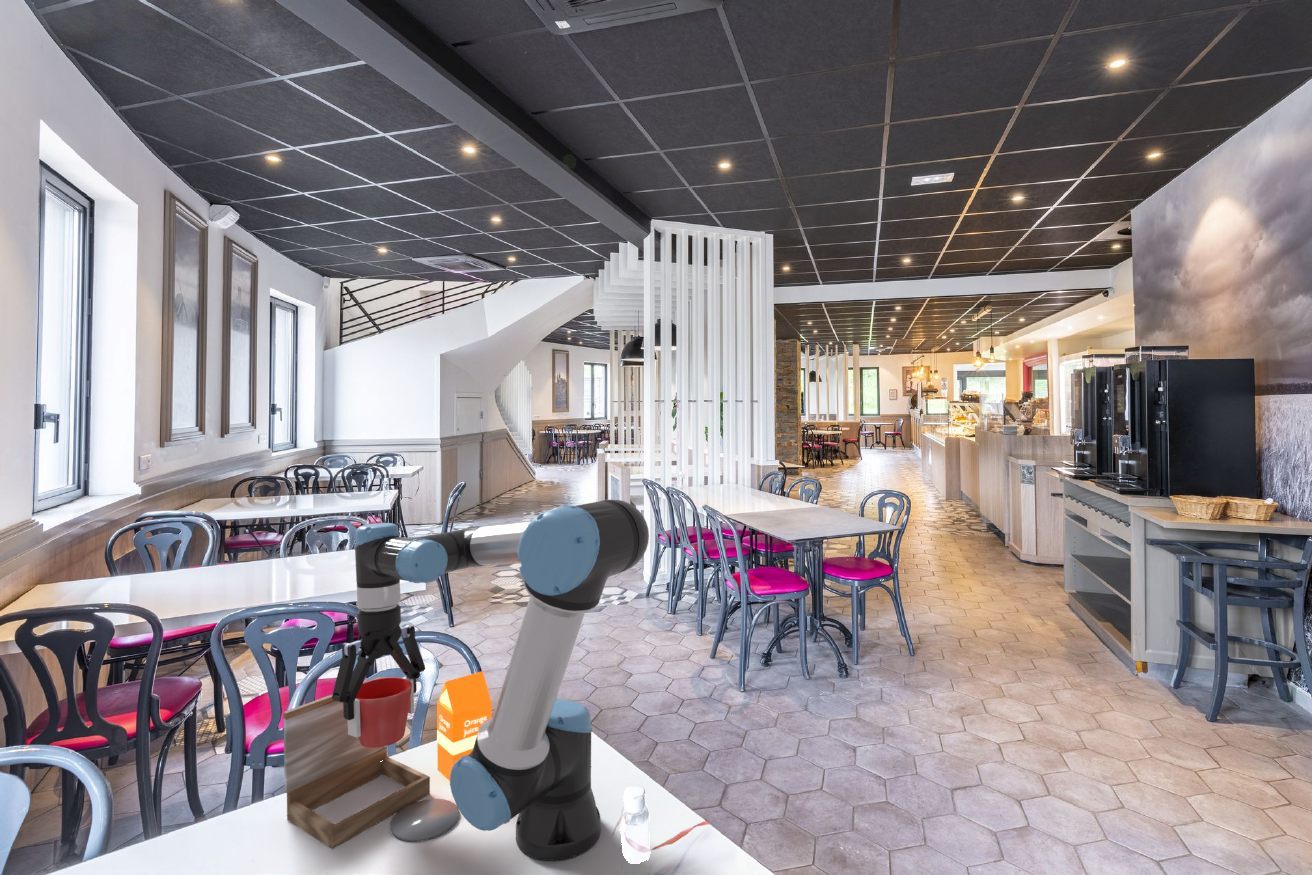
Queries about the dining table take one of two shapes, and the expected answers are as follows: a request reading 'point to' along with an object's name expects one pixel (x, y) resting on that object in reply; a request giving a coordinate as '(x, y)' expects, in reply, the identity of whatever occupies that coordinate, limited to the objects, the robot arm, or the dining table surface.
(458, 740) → the orange juice
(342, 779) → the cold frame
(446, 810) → the slate saucer
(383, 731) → the flower pot
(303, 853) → the dining table surface
